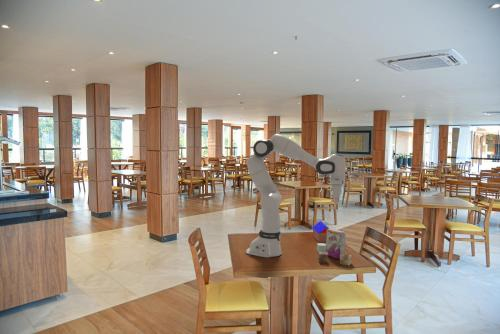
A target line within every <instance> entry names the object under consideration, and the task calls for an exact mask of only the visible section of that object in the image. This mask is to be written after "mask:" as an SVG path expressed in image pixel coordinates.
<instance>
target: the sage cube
mask: <svg viewBox="0 0 500 334" xmlns="http://www.w3.org/2000/svg"><path fill="white" fill-rule="evenodd" d="M316 251H317V253H318V254H319V252H326V242H317V243H316Z"/></svg>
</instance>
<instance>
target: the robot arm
mask: <svg viewBox="0 0 500 334" xmlns="http://www.w3.org/2000/svg"><path fill="white" fill-rule="evenodd" d="M252 150H253V155H251V156H249V157H248V158H247V160H246V166H247V170H248V173H249V175H250V177H251V180H252V182H253V184H254V186H255V188H256V189H257V191H258V192H259V193H260V195H261V199H260V201H259V202H260V208H261V209H260V210H261V220H262V225H261V226H262V227H261V229H260V230H259V232H258V236H257V237H256V238H254V239H253V240H252V241H251V242H250V245H249V247H248V248H247V249H246V250H245V251H246V252H245V253H246V254H247V255H252V256H257V257H262V258H267V259H268V258H272V257H279V256H280V255H281V256H282V255H283V252H282V248H281V236H282V235H281V218H280V205H281V204H282V201H283V197H282V194H281V193H280V191H279V189H278V187H277V185H276V184H275V183H274V181H273V180H272V177H271V175H270V173H269V171H268V169H267V167H266V164H265V160H266V159H267V158H268V157H269V156H270V155H271V153H272V152H274V153H275V152H276V153H278V154H280V155H282V156H283V157H286V158H289V159H291V160H298V161H302V162H303V163H306V164H308V165H309V166H311V167H312V168H314V170H315V171H316V172H317V173H318V174H319V175H320V176H327V175H330V181H329V183H330V184H331V188H332V189H331V192H332V197H333V198H334V205H338V204H339V203H340V197H341V195H342V191H343V190H342V188H343V187H344V185H345V184H346V168H347V167H346V166H347V165H346V157H345V156H344V155H341V154H338V153H333V154H331V155H330V156H328V157H325V158H320V157H316V156H315V155H312V154H311V153H309V152H307V151H305V150H304V149H303V147H302V146H301V145H300V144H298V143H297V142H296V141H294V140H293V139H291V138H289V137H288V136H287V137H286V136H284V135H281V134H278V133H275V134H273V135H272V136H271V137H270V138H269V139H259V140H256V142H255V143H254V144H253V146H252Z"/></svg>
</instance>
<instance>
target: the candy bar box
mask: <svg viewBox="0 0 500 334" xmlns="http://www.w3.org/2000/svg"><path fill="white" fill-rule="evenodd" d="M325 244H326V252H327V253H328V257H331V258H334V259H337V260H339V261H340V256H341V255H342V254H346V253H345V252H346V249H345V248H346V232H345V231H342V230H339V229H335V228H332V227H331V228H329V229H327V234H326V242H325Z"/></svg>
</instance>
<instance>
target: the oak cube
mask: <svg viewBox="0 0 500 334" xmlns="http://www.w3.org/2000/svg"><path fill="white" fill-rule="evenodd" d="M352 257H353V255H351V254H348V253H347V254H346V253H345V254H342V255H341V256H340V260H339V264H340V265H341V264H342V265H341V266H346V265H348V266H347V267H350V265H352V260H353V259H352Z"/></svg>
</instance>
